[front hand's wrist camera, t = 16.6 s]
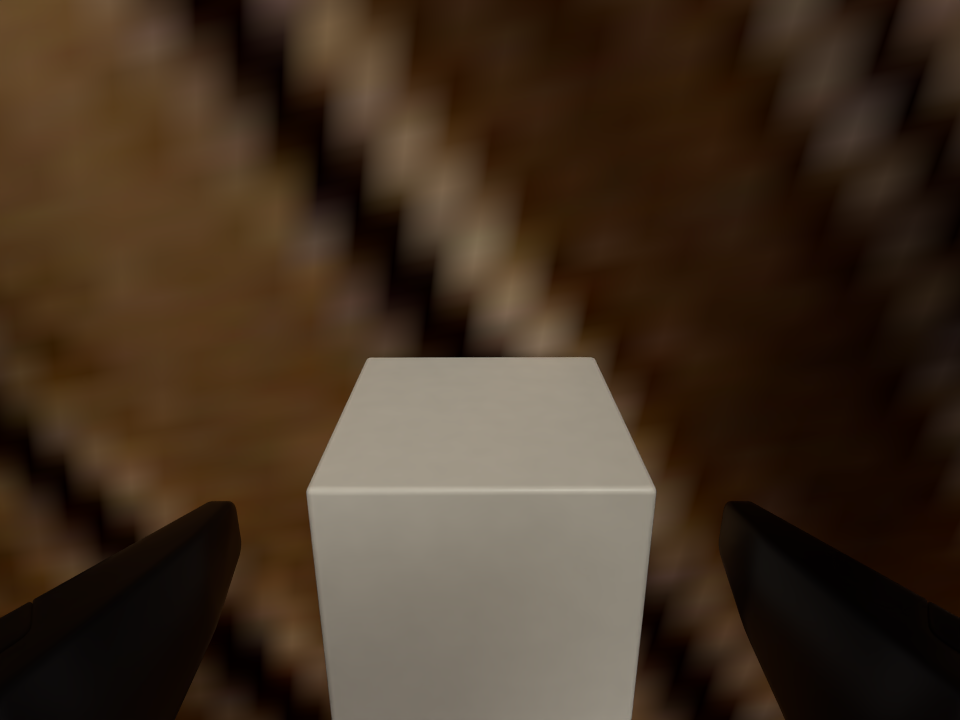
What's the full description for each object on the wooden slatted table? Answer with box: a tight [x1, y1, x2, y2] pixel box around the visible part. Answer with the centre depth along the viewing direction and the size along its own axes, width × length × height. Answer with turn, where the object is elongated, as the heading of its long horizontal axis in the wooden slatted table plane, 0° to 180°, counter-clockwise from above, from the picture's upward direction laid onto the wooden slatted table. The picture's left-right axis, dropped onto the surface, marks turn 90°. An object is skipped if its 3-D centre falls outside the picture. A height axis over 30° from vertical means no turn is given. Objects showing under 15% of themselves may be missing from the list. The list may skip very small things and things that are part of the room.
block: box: [306, 357, 656, 720], centre depth 11 cm, size 4×5×5 cm
